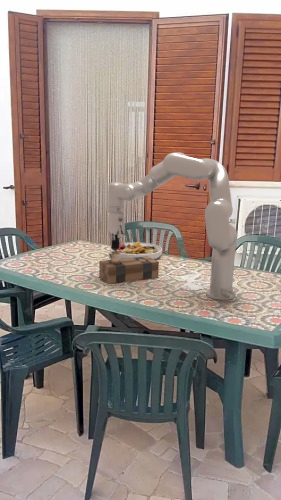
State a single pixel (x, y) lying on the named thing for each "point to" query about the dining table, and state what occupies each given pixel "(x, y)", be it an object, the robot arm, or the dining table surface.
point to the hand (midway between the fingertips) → (115, 247)
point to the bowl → (137, 250)
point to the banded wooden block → (128, 270)
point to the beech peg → (115, 257)
